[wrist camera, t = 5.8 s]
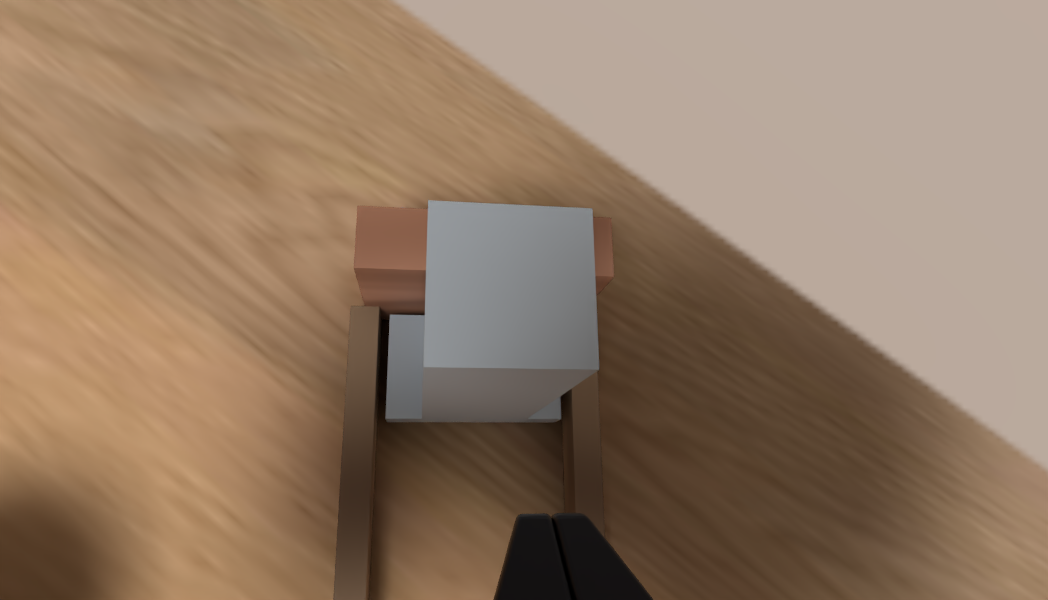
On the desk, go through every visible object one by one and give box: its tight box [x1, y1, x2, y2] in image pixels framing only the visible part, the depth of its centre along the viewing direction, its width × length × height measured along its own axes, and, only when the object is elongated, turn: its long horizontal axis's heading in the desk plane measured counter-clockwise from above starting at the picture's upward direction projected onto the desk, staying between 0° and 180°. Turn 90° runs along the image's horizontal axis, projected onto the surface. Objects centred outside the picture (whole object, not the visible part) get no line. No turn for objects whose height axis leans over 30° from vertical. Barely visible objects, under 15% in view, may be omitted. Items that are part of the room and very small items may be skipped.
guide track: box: [333, 206, 614, 600], centre depth 18 cm, size 13×7×5 cm, turn 1°
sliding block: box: [385, 200, 599, 422], centre depth 16 cm, size 3×5×9 cm, turn 91°
